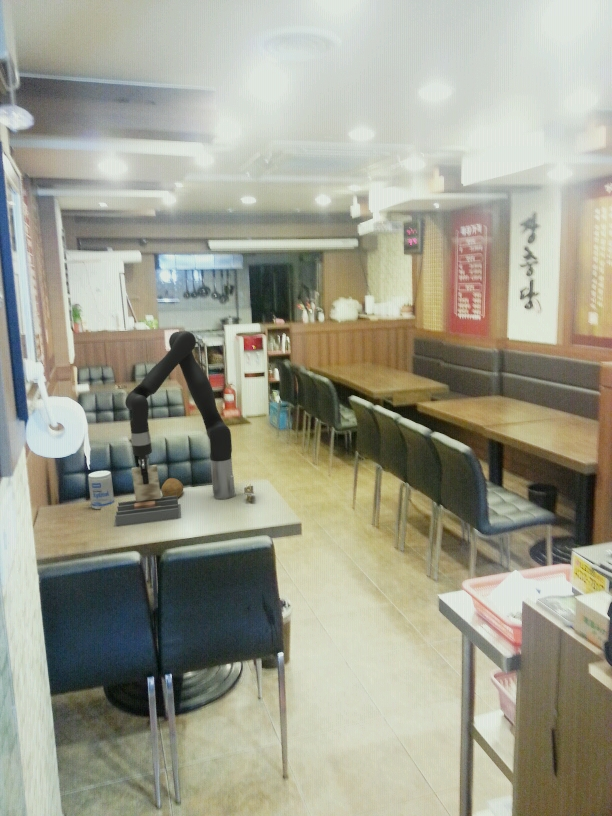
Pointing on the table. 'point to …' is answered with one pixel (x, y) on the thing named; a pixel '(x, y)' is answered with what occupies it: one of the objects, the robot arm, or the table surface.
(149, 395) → the robot arm
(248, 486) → the mottled beige figurine
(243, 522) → the table surface
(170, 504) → the rack
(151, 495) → the sheet
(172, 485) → the potato
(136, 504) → the offcut upper
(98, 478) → the supplement tub
